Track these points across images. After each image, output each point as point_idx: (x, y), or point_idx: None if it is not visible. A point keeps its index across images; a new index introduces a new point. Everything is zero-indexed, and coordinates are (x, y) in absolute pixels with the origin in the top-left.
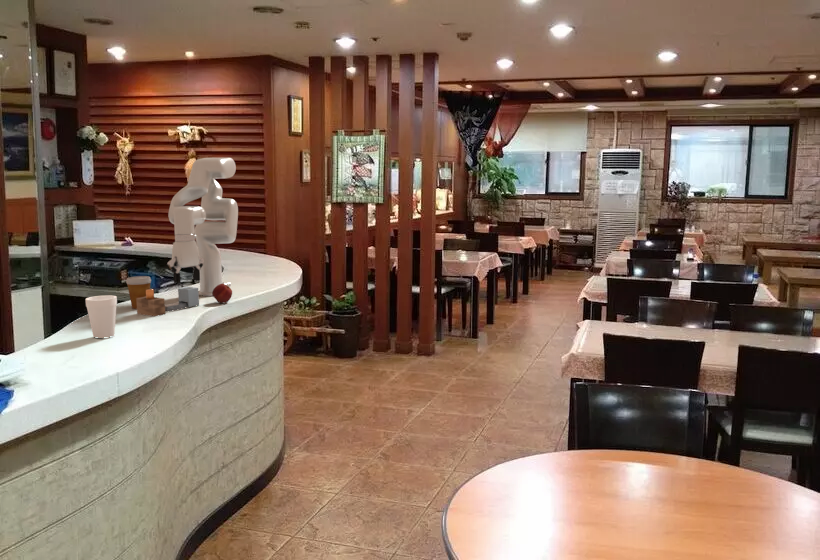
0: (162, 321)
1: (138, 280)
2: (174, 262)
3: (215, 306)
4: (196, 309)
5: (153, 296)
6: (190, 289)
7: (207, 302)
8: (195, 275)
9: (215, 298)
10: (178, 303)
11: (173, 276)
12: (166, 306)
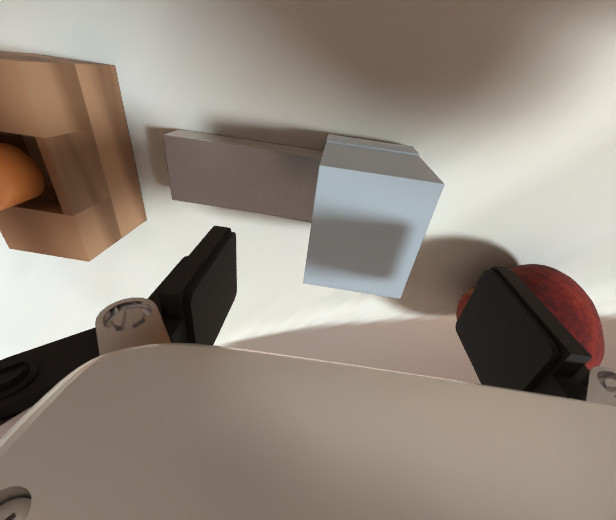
0: (74, 299)
1: None
2: (105, 464)
3: (396, 305)
4: (302, 274)
5: (19, 202)
6: (326, 285)
7: (506, 205)
8: (493, 333)
9: (463, 298)
10: (274, 189)
11: (163, 282)
12: (172, 189)
